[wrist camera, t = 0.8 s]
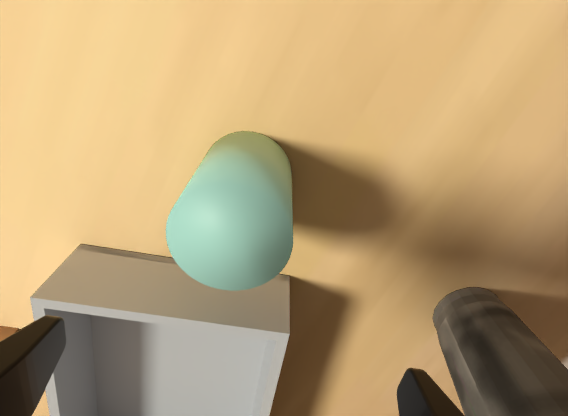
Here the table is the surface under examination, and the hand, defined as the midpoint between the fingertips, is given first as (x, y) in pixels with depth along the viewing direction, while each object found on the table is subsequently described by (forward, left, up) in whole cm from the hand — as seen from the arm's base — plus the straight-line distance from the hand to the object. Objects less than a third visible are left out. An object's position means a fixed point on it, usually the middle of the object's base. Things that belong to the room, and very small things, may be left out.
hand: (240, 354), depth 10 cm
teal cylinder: (0, +1, -13) cm, 13 cm away
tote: (-15, +4, -13) cm, 20 cm away
